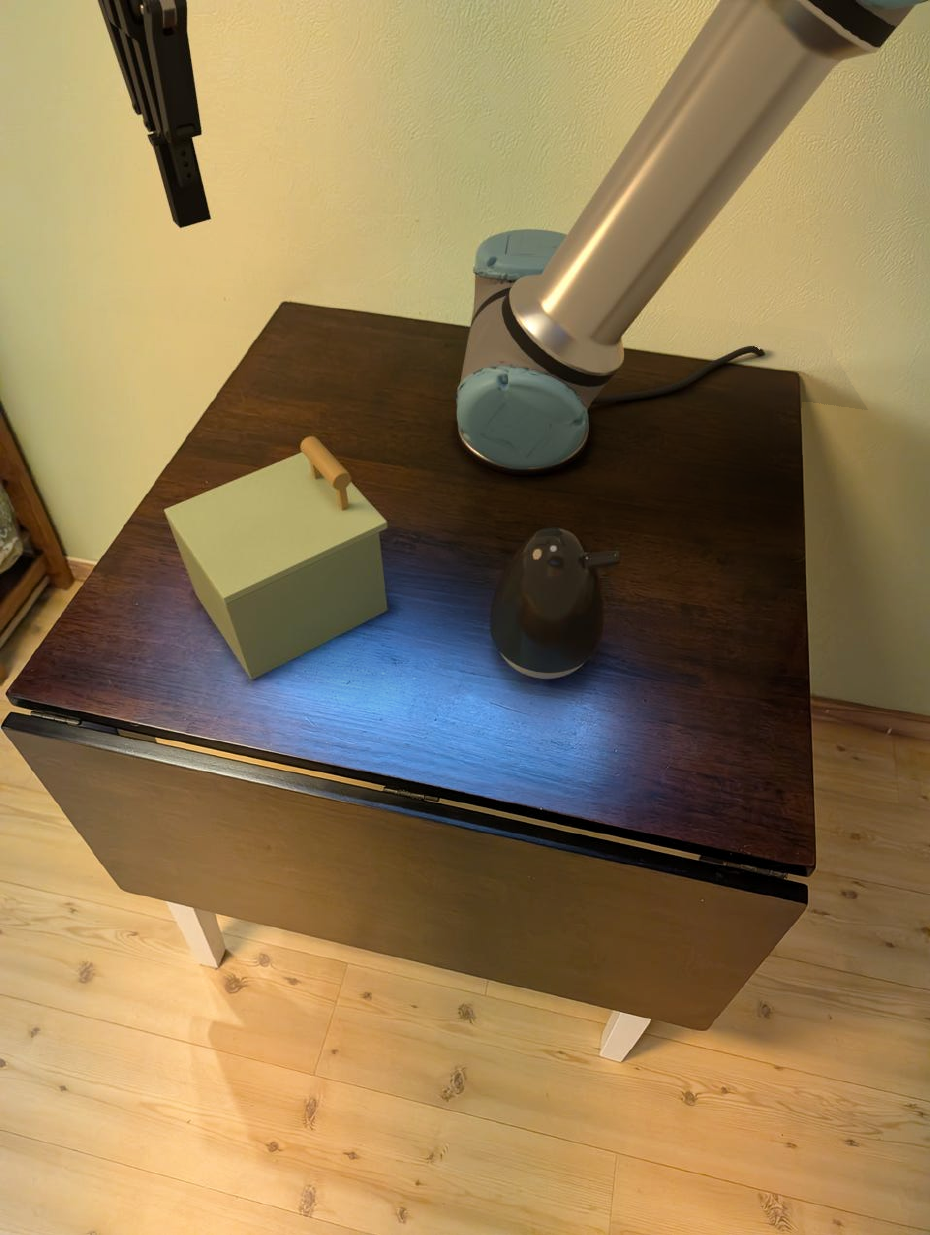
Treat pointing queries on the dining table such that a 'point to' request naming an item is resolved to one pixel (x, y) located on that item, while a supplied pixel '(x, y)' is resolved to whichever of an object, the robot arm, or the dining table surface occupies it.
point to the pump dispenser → (550, 604)
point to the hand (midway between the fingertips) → (192, 219)
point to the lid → (274, 521)
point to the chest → (295, 605)
